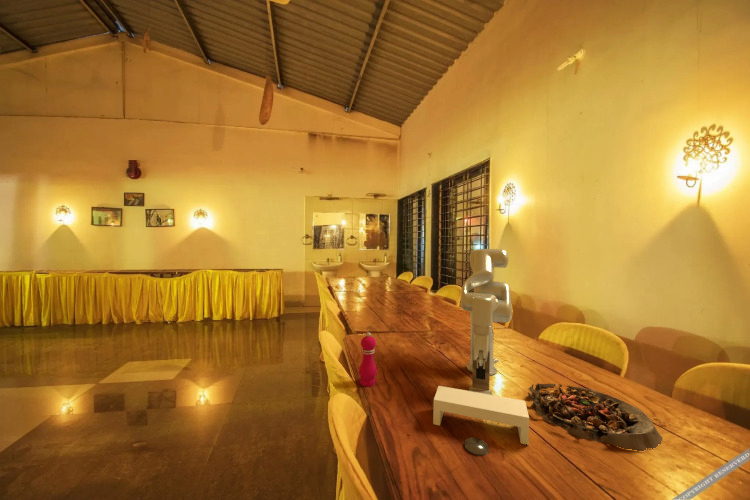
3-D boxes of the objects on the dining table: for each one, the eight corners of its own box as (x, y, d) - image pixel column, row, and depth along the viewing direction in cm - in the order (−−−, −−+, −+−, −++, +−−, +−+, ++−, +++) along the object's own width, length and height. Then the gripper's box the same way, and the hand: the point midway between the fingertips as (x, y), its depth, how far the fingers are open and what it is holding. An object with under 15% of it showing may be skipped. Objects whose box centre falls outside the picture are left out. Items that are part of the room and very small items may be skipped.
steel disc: (474, 439, 85) (474, 434, 85) (493, 451, 80) (493, 446, 80) (459, 446, 82) (460, 441, 82) (478, 459, 77) (478, 454, 77)
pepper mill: (374, 388, 114) (375, 335, 114) (356, 386, 116) (357, 334, 116) (378, 380, 121) (379, 330, 121) (360, 378, 123) (361, 329, 123)
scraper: (469, 385, 118) (470, 347, 118) (491, 389, 115) (492, 350, 115) (466, 411, 99) (467, 365, 99) (492, 416, 96) (493, 369, 96)
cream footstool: (438, 408, 101) (438, 385, 101) (524, 425, 92) (524, 400, 92) (433, 424, 91) (433, 399, 91) (528, 445, 82) (529, 417, 82)
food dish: (505, 404, 107) (506, 381, 107) (568, 390, 120) (568, 370, 120) (618, 467, 75) (618, 435, 75) (686, 438, 88) (686, 411, 88)
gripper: (472, 322, 124) (471, 364, 124) (470, 333, 108) (469, 381, 108) (491, 324, 122) (491, 367, 122) (492, 336, 105) (491, 384, 105)
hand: (480, 373), depth 115 cm, fingers open, 9 cm apart
